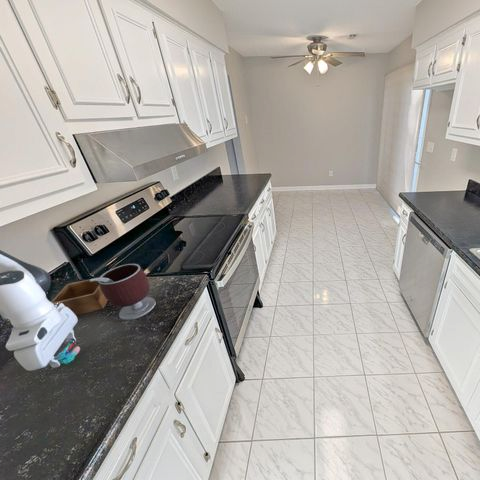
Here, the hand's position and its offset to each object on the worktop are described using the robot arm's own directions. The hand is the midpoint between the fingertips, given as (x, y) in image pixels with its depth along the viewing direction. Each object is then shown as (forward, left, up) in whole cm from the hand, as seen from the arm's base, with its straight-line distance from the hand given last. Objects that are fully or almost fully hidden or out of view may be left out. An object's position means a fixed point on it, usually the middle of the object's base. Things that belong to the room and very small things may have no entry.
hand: (65, 353), depth 80 cm
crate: (-6, +31, -3) cm, 32 cm away
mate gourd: (+14, +18, -3) cm, 23 cm away
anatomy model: (0, +1, -2) cm, 2 cm away
